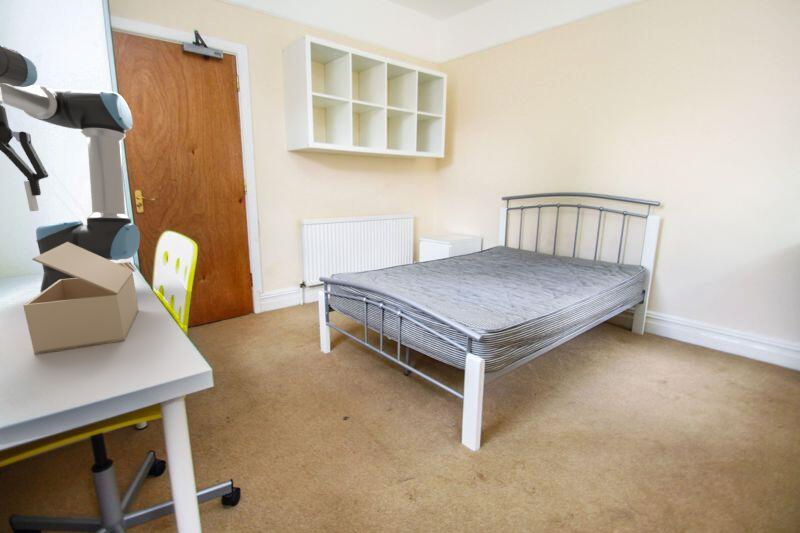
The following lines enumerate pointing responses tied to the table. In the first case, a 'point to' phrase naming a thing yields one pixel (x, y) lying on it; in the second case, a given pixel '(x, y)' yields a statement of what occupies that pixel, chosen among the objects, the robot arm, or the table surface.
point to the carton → (80, 315)
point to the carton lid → (86, 266)
